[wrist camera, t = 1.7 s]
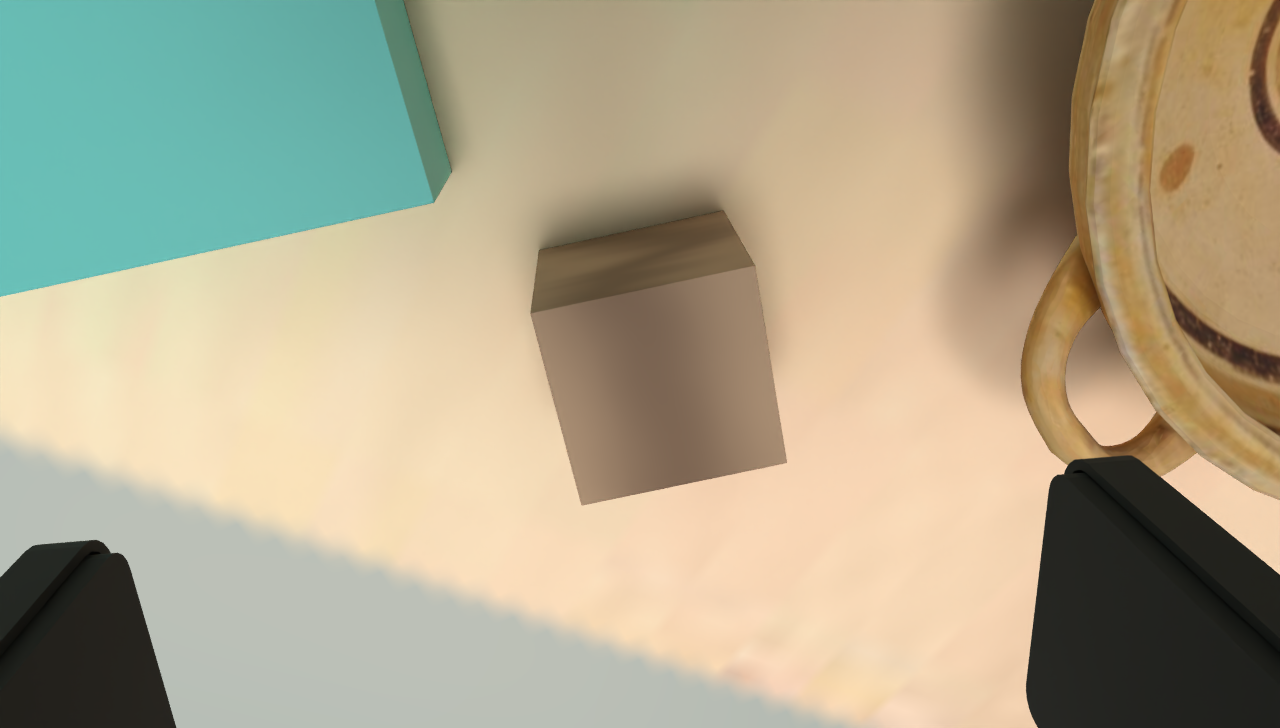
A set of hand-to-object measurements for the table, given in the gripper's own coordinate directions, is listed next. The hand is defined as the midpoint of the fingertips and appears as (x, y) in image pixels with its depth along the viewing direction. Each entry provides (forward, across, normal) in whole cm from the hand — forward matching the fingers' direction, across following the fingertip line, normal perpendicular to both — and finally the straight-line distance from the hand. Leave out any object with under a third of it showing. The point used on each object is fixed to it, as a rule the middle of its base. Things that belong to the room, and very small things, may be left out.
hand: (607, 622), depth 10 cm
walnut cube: (+22, -2, +4) cm, 22 cm away
